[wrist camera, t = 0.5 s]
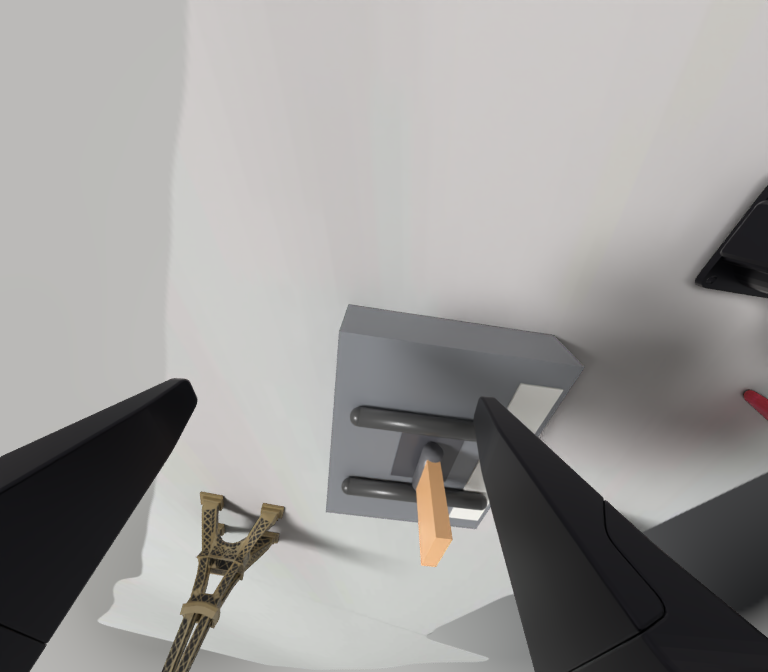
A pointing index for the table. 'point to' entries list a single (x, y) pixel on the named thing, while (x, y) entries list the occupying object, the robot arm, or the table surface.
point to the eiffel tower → (218, 561)
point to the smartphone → (757, 402)
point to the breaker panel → (430, 406)
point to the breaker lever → (431, 506)
